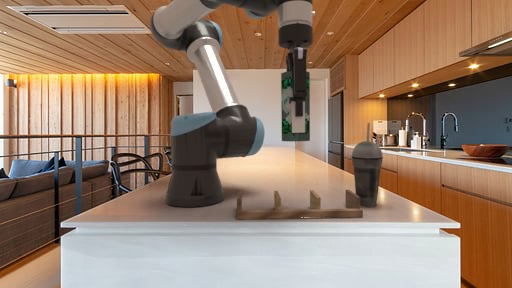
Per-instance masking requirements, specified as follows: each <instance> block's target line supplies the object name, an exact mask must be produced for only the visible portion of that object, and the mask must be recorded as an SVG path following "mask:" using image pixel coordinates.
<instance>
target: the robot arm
mask: <svg viewBox="0 0 512 288" xmlns="http://www.w3.org/2000/svg"><path fill="white" fill-rule="evenodd" d="M313 3H314V1H313V0H172V1H171V2H170V3H168V4H167V5H163V6H160V7H158V8H157V9H156V10H155V11H153V13H152V15H151V17H150V19H149V29H150V33H151V34H152V36H153V38H154V39H155V41H156V42H157V43H158V44H159V45H161V46H162V47H163V48H166V49H170V50H172V51H177V52H178V51H179V52H184V53H185V54H186V57H187V59H188V60H189V61H190V62H191V63H194V65H195V68H196V72H197V73H198V76H199V78H200V82H201V83H202V86H203V90H204V93H205V95H206V98H207V100H208V103H209V105H210V108H211V111H206V112H197V113H195V112H194V113H187V114H180V115H175V116H174V117H173V118H172V119H171V122H170V146H171V147H170V149H171V151H170V152H171V175H170V177H169V178H170V179H169V182H168V187H167V190H166V192H165V203H166V204H168V205H169V206H173V207H181V208H183V207H184V208H190V207H191V208H192V207H193V208H194V207H205V206H211V205H215V204H218V203H221V202H222V201H224V199H225V195H224V194H225V193H224V188H223V185H222V182H221V179H220V176H219V173H218V170H217V169H218V167H217V166H218V165H217V164H218V163H217V160H218V159H232V158H246V157H249V156H254V155H256V154H258V153H259V152H260V150H261V148H262V146H263V144H264V139H265V126H264V123H263V121H262V120H261V119H260V118H258V117H256V116H251V114H250V111H249V110H248V107H247V106H246V105H244V104H243V103H240V101H239V98H238V97H237V93H236V92H235V89H234V87H233V85H232V82H231V80H230V77H229V75H228V73H227V71H226V68H225V66H224V63H223V61H222V59H221V56H220V52H221V50H222V47H223V42H224V41H223V39H222V38H223V33H222V29H221V28H220V25H219V24H218V23H216V22H214V21H212V20H209V19H207V18H205V17H206V16H208V15H210V14H211V13H213V12H214V11H216V10H218V9H219V8H221V7H223V6H224V5H227V6H231V7H235V8H238V9H239V8H240V9H243V10H244V12H245V13H246V15H248V16H249V18H251V19H255V20H258V19H263V18H265V17H269V16H271V15H272V14H274V13H275V12H277V25H278V27H279V28H278V33H277V34H278V37H277V38H278V46H279V47H281V48H282V49H287V50H288V52H287V54H286V56H285V64H286V72H289V71H292V92H293V97H290V99H289V101H295V102H292V133H305V102H303V101H305V99H306V97H307V73H306V71H307V55H308V54H307V53H308V47H311V46H312V45H313V43H314V31H313V30H314V28H313V27H312V26H313V19H314V18H313V17H315V16H316V11H313V5H314V4H313Z"/></svg>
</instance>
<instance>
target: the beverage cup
mask: <svg viewBox="0 0 512 288" xmlns="http://www.w3.org/2000/svg"><path fill="white" fill-rule="evenodd" d="M370 125H371V124H370V122H367V128H366V141H364V140H363V141H361V142H359V143H358V144H356V145H355V146H354V148H353V150H352V154H351V161H352V167H353V175H354V176H353V177H354V187H355V188H354V189H355V194H356V195H358V196H359V197H360V207H366V208H367V207H368V208H372V207H376V206H377V201H378V197H379V196H378V195H379V185H380V178H381V175H380V174H381V167H382V166H383V165H382V164H383V159H384V157H383V151H382V149H381V147H380V146H379V145H378V144H377V143H376V142H374V141H370Z"/></svg>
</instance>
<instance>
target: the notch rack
mask: <svg viewBox="0 0 512 288" xmlns="http://www.w3.org/2000/svg"><path fill="white" fill-rule="evenodd" d="M273 196H274V197H273V199H274V203H273V205H274V207H273V208H274V209H256V210H255V209H254V210H253V209H252V210H250V209H248V210H243V193H242V191H241V190H240V191H238V192H237V196H236V220H237V219H249V220H269V219H268V218H301V217H303V218H304V217H316V218H315V219H326V218H325V217H364V216H363V215H364V210H363V209H362V208H361V206H360V197H359V196H358V195H356V192H353V191H352V190H350V189H345V207H346V208H322V207H321V206H322V205H321V197H320V195H319V194H318V193H317V191H315V190H314V189H311V190H310V189H309V207H310V208H309V209H305V208H304V209H300V208H299V209H282V207H281V206H282V205H281V203H282V201H281V199H282V198H281V196H280V193H279V190H273ZM317 217H318V218H317ZM319 217H320V218H319ZM323 217H324V218H323Z"/></svg>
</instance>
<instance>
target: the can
mask: <svg viewBox="0 0 512 288" xmlns="http://www.w3.org/2000/svg"><path fill="white" fill-rule="evenodd" d="M306 73H307V97H306V99H305V101H303V102H305V133H292V102H295V101H289V99H290V97H293V92H292V71H289V72H287V71H285V72H282V73H280V76H281V77H280V82H281V83H280V84H281V85H280V88H281V89H280V90H281V92H280V94H281V95H280V96H281V97H280V99H281V106H280V107H281V142H309V141H311V81H310V80H311V79H310V78H311V73H310V71H307V70H306Z"/></svg>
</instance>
